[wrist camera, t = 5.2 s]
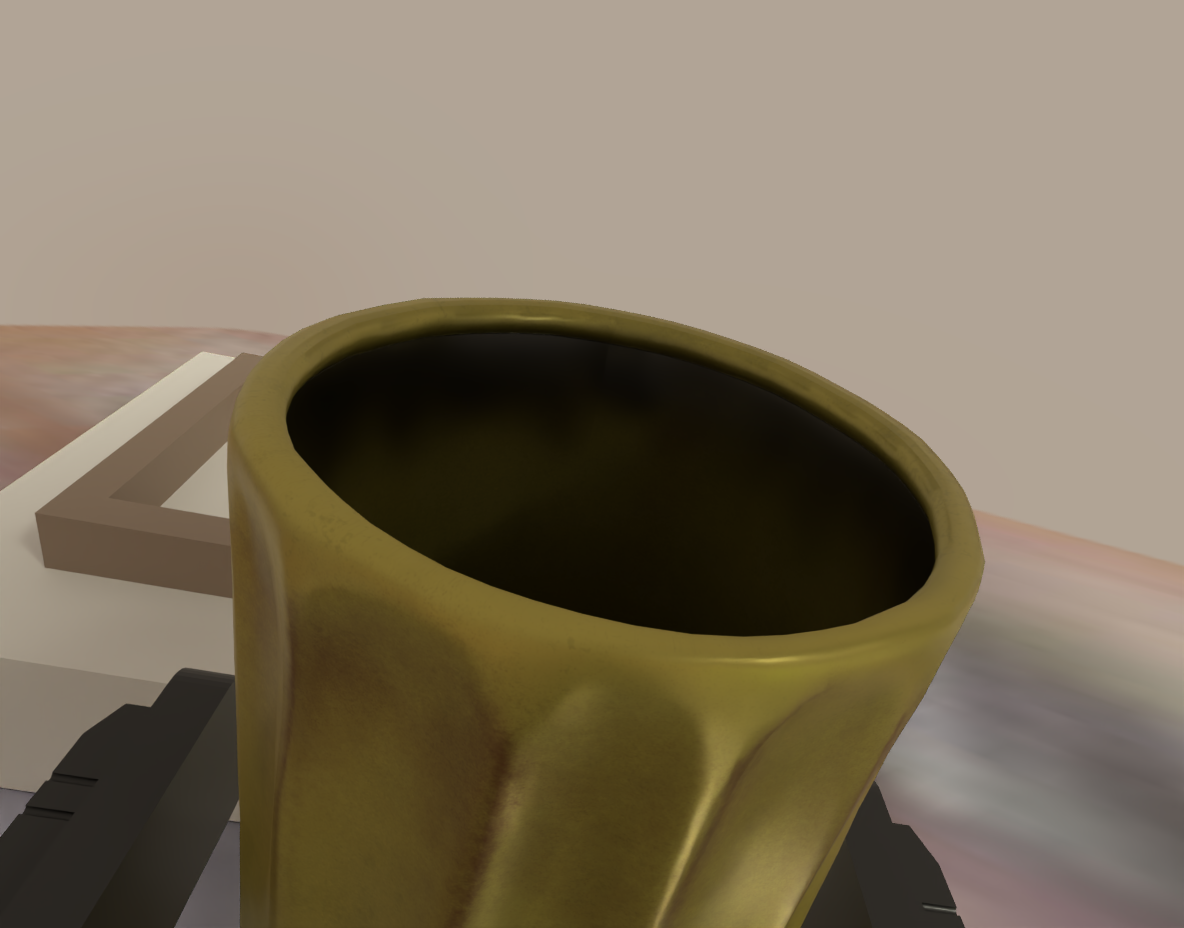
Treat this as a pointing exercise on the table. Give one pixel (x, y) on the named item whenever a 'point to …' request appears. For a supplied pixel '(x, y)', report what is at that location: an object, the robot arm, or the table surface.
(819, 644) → the vase
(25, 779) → the display stand
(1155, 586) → the table surface
